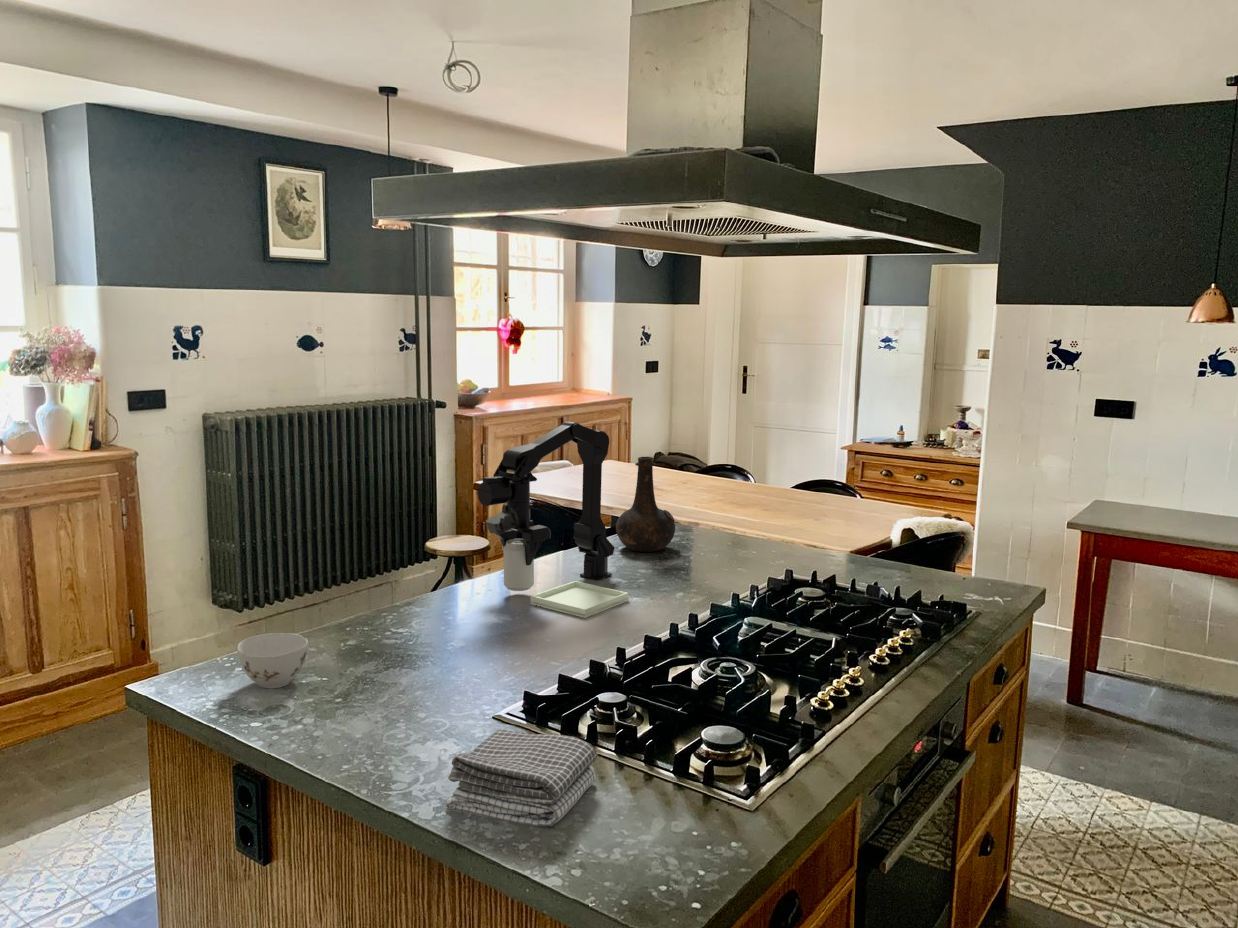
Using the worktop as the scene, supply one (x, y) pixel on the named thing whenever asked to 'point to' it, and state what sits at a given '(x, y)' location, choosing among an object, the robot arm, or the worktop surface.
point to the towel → (522, 777)
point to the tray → (579, 598)
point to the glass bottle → (645, 515)
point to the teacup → (272, 658)
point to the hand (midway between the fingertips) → (518, 562)
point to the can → (517, 567)
